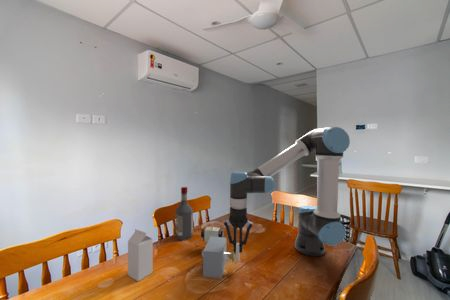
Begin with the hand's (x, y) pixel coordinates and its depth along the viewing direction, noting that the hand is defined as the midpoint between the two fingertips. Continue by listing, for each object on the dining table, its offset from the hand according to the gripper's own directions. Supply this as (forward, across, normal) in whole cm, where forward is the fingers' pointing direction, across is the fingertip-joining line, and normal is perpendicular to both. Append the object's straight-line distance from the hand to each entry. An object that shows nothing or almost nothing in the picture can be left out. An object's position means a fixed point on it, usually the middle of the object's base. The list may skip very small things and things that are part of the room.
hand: (237, 258), depth 93 cm
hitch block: (+5, +10, 0) cm, 11 cm away
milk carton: (+5, +41, +10) cm, 43 cm away
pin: (+1, +9, 0) cm, 9 cm away
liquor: (+5, +35, -28) cm, 45 cm away
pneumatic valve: (+5, +15, -17) cm, 23 cm away
